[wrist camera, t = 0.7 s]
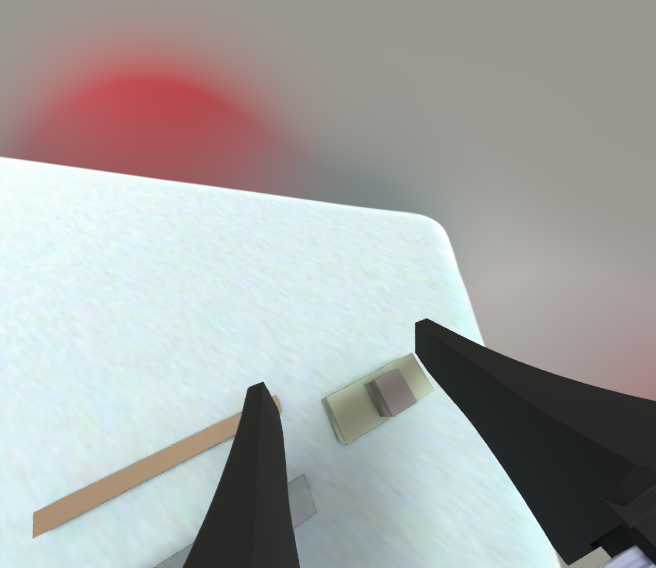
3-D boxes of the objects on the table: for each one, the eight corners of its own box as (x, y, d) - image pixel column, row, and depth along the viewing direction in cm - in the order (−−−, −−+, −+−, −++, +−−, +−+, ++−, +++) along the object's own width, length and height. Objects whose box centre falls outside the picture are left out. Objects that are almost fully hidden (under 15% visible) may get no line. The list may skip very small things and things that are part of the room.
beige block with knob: (415, 393, 27) (453, 387, 21) (337, 440, 24) (356, 449, 18) (396, 360, 29) (426, 345, 22) (320, 400, 25) (332, 395, 19)
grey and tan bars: (310, 492, 21) (316, 512, 17) (50, 664, 15) (-43, 762, 11) (276, 396, 24) (274, 391, 20) (50, 506, 18) (-21, 533, 14)
